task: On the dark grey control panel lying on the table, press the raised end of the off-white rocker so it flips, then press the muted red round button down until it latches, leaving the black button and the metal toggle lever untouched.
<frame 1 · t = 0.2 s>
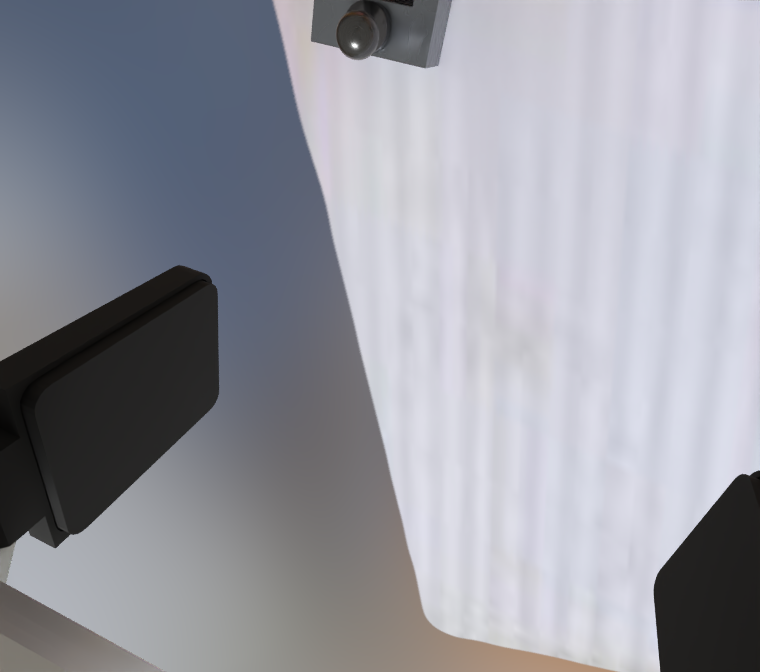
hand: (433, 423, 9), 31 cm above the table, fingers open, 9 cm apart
toggle: (359, 33, 27), point 9 cm above the table, hinge at -20.0°
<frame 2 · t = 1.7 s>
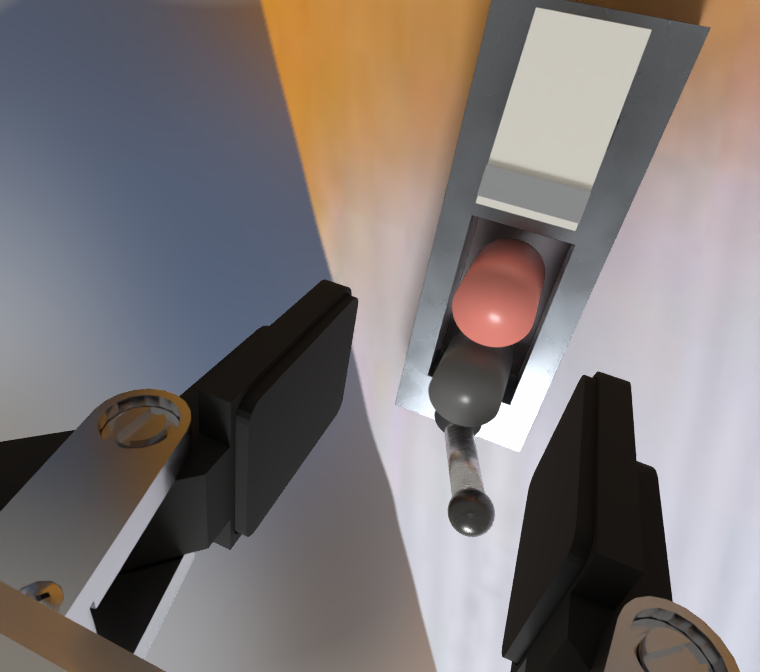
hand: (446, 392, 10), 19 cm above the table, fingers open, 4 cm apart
toggle: (467, 489, 26), point 9 cm above the table, hinge at -20.0°
button: (501, 290, 24), point 5 cm above the table, slide at 0.0 cm
rocker: (556, 125, 20), point 5 cm above the table, hinge at -15.0°
panel: (518, 246, 28), on the table
button b: (473, 372, 27), point 5 cm above the table, slide at 0.0 cm
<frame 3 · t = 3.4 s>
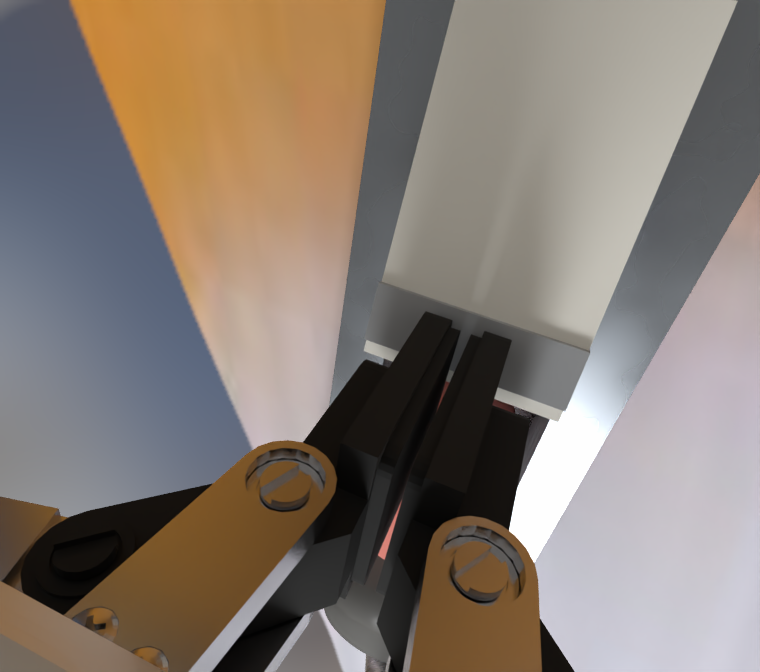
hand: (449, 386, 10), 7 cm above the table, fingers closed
button: (436, 461, 14), point 5 cm above the table, slide at 0.0 cm
rocker: (518, 206, 10), point 5 cm above the table, hinge at -14.8°, touching gripper
panel: (477, 358, 18), on the table
button b: (403, 563, 17), point 5 cm above the table, slide at 0.0 cm
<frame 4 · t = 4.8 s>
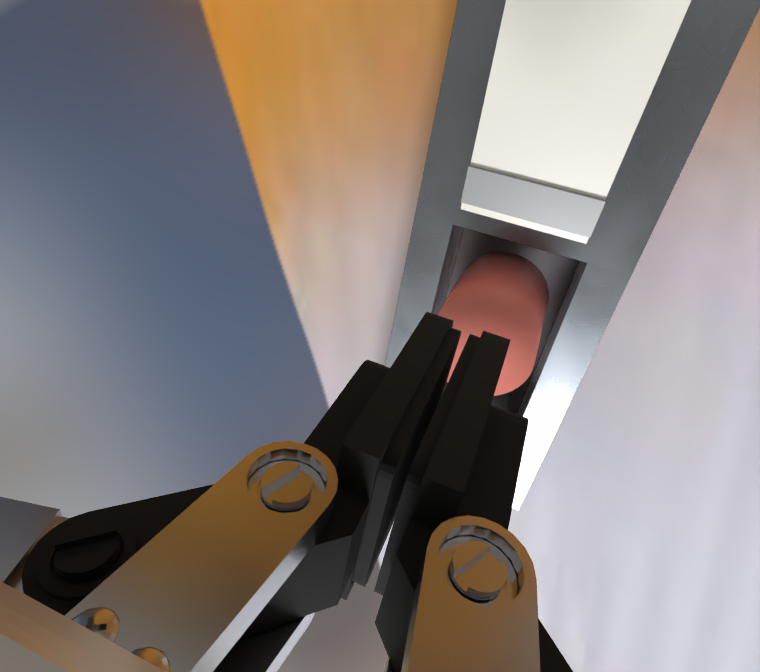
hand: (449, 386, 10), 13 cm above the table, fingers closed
button: (491, 320, 19), point 5 cm above the table, slide at 0.2 cm
rocker: (561, 104, 14), point 5 cm above the table, hinge at 10.6°
panel: (514, 262, 22), on the table
button b: (458, 421, 22), point 5 cm above the table, slide at 0.0 cm
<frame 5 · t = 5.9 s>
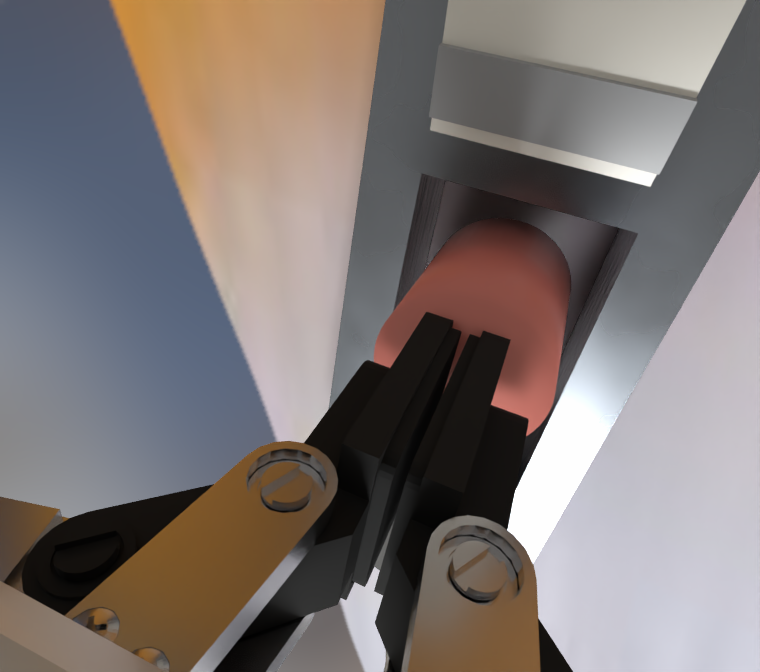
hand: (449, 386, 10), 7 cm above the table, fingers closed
button: (482, 323, 12), point 4 cm above the table, slide at 0.3 cm, touching gripper
panel: (517, 238, 15), on the table
button b: (432, 474, 14), point 5 cm above the table, slide at 0.0 cm
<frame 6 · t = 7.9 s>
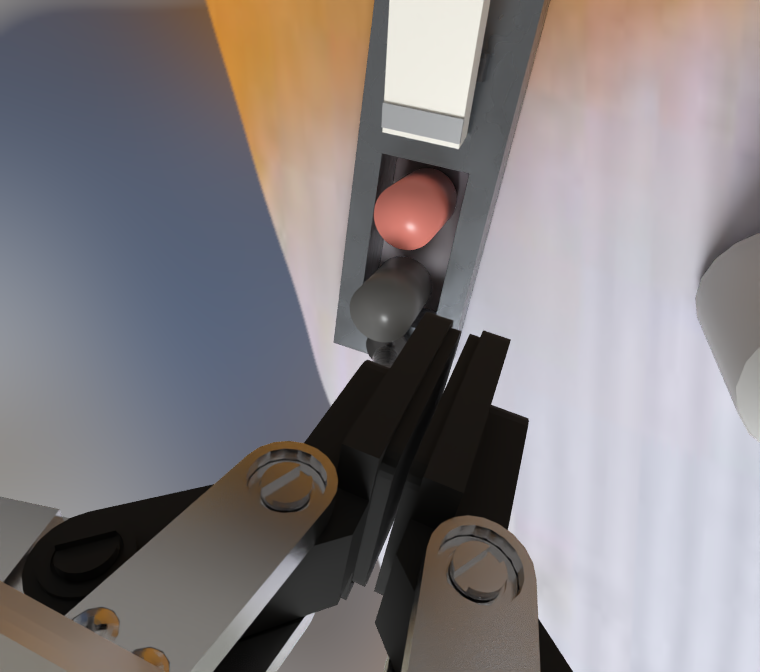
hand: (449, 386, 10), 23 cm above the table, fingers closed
toggle: (386, 397, 29), point 9 cm above the table, hinge at -20.0°
button: (417, 207, 29), point 3 cm above the table, slide at 1.9 cm
rocker: (432, 60, 23), point 5 cm above the table, hinge at 15.9°
panel: (431, 188, 31), on the table
button b: (392, 297, 30), point 5 cm above the table, slide at 0.0 cm
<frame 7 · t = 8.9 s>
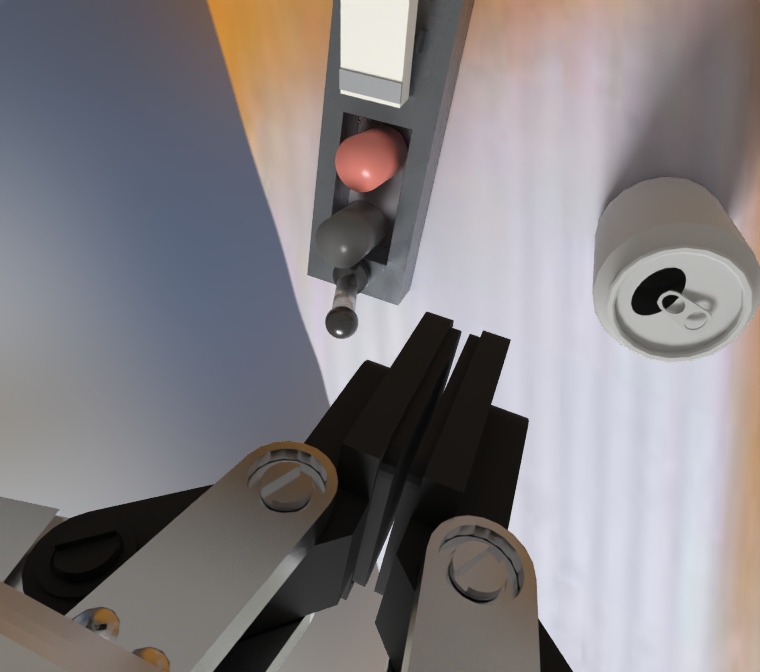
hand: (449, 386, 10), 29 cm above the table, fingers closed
toggle: (343, 311, 36), point 9 cm above the table, hinge at -20.0°
button: (372, 157, 36), point 3 cm above the table, slide at 1.9 cm
rocker: (377, 35, 30), point 5 cm above the table, hinge at 16.0°
can: (656, 230, 34), on the table
panel: (387, 143, 38), on the table
button b: (352, 233, 37), point 5 cm above the table, slide at 0.0 cm
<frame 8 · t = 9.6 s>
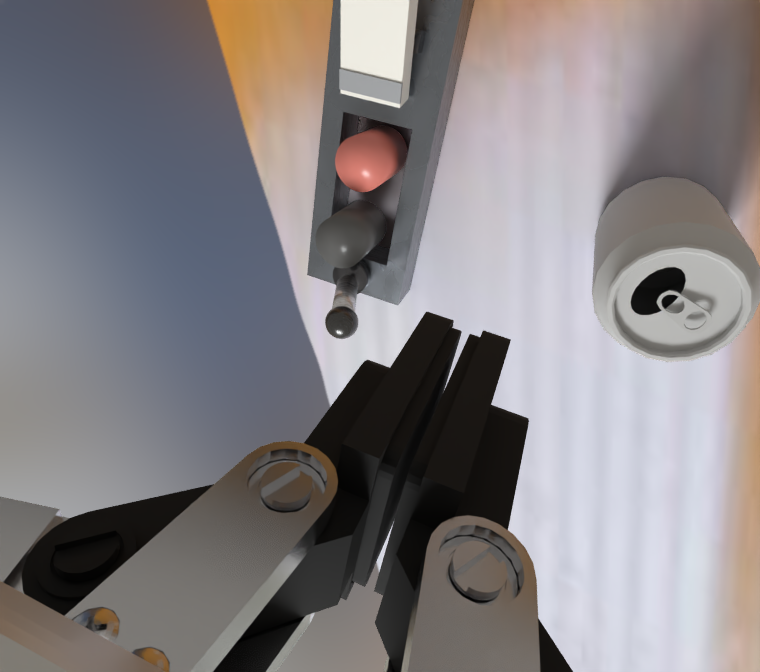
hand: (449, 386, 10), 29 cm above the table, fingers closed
toggle: (343, 311, 36), point 9 cm above the table, hinge at -20.0°
button: (372, 157, 36), point 3 cm above the table, slide at 1.9 cm
rocker: (377, 35, 30), point 5 cm above the table, hinge at 16.0°
can: (656, 230, 34), on the table
panel: (387, 143, 38), on the table
button b: (352, 233, 37), point 5 cm above the table, slide at 0.0 cm
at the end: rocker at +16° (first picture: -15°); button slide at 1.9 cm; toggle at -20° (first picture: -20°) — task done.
